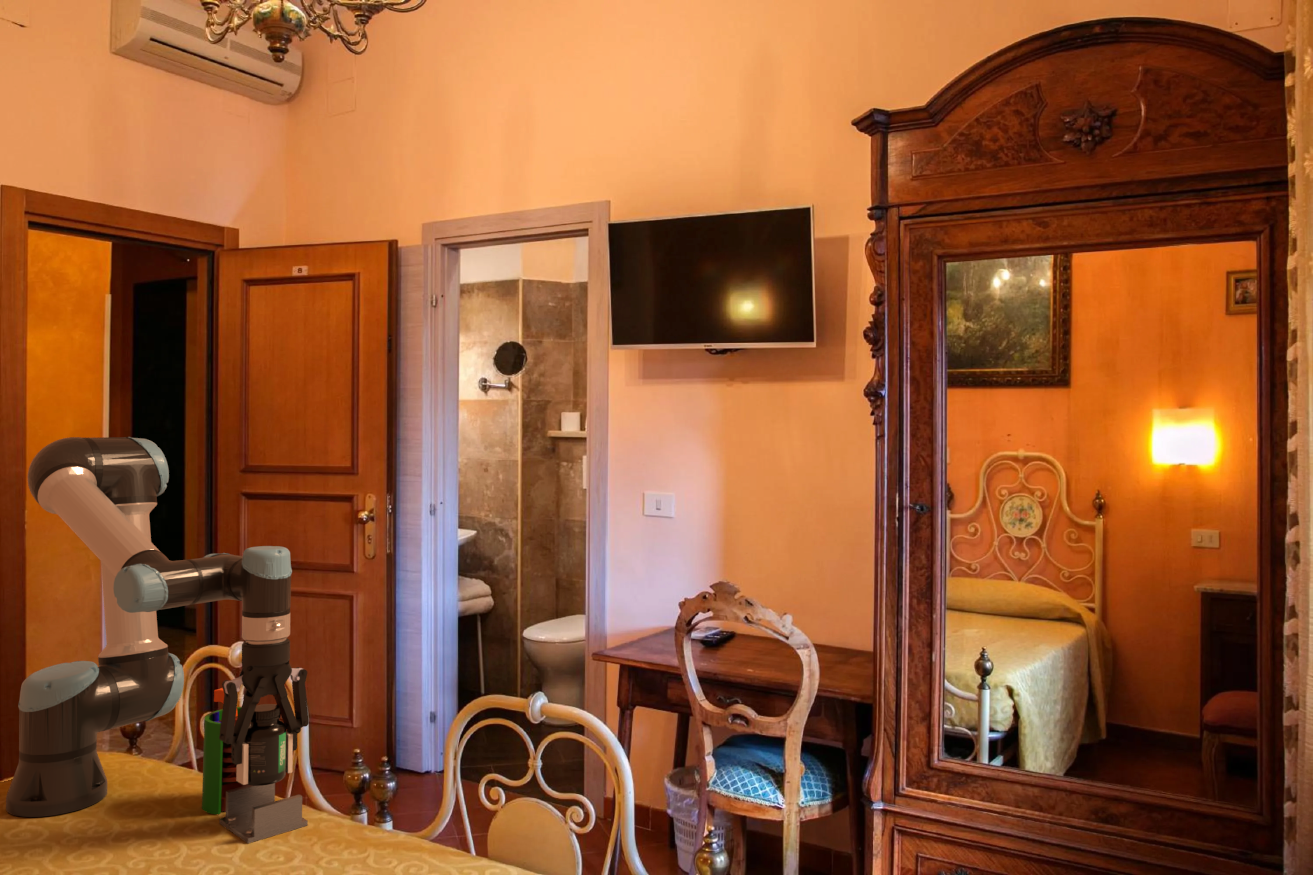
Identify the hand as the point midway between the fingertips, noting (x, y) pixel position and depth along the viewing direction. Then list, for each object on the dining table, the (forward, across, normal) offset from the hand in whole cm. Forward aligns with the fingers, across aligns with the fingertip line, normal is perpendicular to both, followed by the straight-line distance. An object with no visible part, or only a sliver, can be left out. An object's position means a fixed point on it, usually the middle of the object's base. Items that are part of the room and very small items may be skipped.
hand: (264, 776), depth 159 cm
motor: (+8, 0, +13) cm, 16 cm away
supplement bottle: (+1, 0, 0) cm, 1 cm away
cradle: (+8, 0, 0) cm, 8 cm away
